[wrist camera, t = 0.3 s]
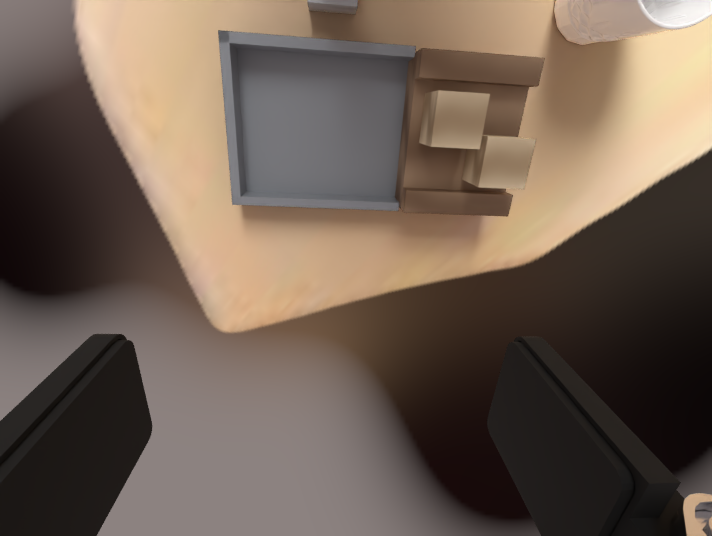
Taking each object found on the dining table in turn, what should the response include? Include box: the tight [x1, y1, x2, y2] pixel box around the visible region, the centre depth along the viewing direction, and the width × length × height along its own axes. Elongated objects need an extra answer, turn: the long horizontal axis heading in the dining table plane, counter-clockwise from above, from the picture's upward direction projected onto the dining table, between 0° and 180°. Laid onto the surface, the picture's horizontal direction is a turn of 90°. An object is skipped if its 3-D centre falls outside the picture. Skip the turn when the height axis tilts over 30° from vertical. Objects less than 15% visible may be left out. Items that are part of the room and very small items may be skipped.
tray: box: [218, 30, 416, 211], centre depth 33 cm, size 14×16×3 cm
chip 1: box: [419, 90, 490, 149], centre depth 29 cm, size 4×4×4 cm
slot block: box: [395, 48, 545, 216], centre depth 33 cm, size 13×10×6 cm
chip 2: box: [462, 135, 536, 189], centre depth 31 cm, size 4×4×4 cm
